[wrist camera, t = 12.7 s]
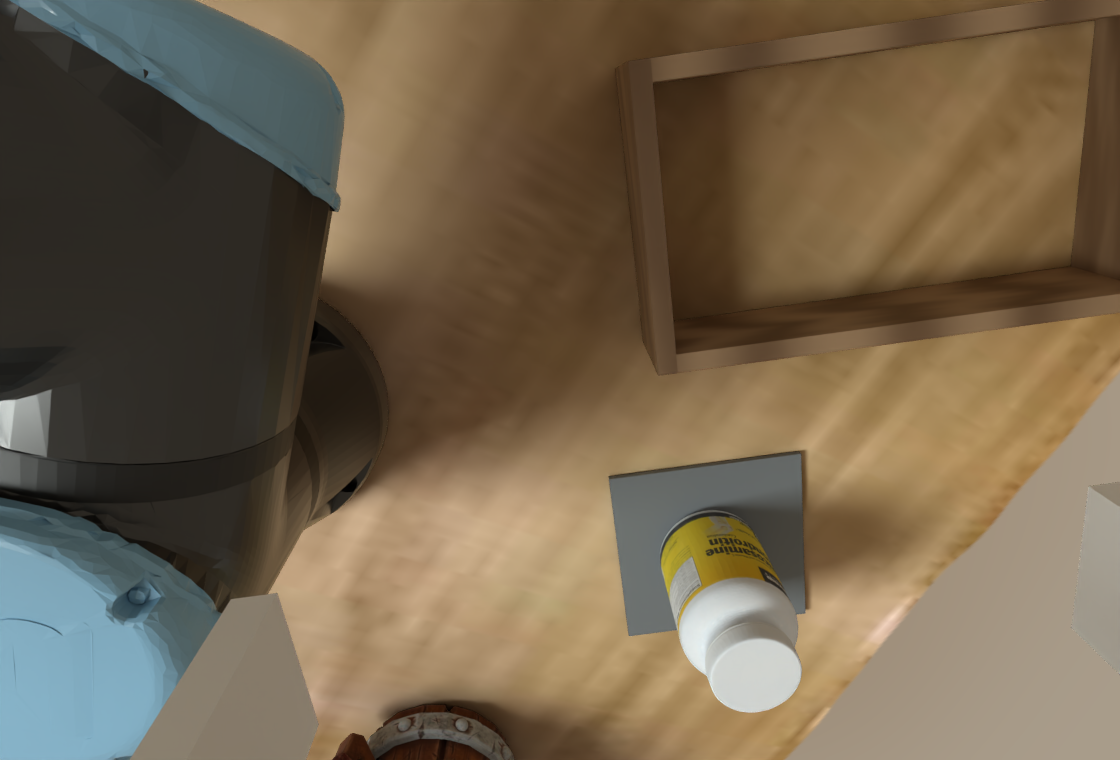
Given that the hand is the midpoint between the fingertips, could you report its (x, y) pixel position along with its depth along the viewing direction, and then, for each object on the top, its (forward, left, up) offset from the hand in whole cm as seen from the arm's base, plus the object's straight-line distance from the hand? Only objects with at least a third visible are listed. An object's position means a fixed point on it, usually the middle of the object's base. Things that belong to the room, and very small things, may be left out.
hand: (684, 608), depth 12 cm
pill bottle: (+6, -20, -31) cm, 38 cm away
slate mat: (+6, -20, -32) cm, 38 cm away
